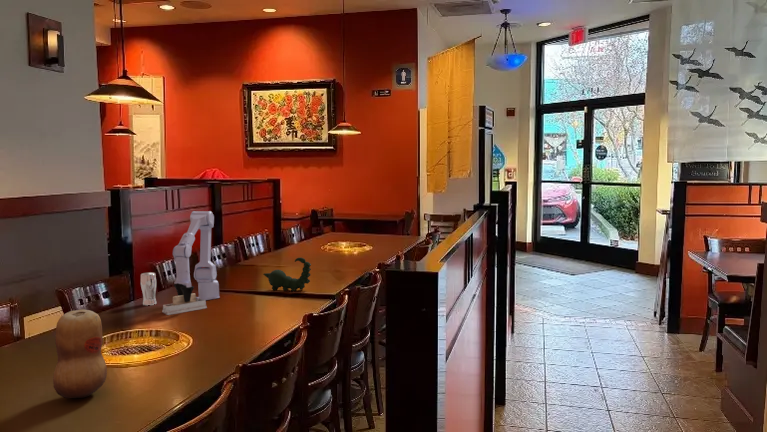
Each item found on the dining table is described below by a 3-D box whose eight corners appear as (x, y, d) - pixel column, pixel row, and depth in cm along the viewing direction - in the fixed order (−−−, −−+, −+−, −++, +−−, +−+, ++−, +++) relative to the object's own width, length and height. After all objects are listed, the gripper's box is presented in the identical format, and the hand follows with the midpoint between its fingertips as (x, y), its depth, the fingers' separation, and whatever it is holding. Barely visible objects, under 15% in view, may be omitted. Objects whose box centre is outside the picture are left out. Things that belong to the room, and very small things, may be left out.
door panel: (194, 305, 256) (194, 293, 255) (196, 306, 254) (195, 293, 254) (173, 309, 249) (172, 296, 249) (174, 310, 248) (173, 297, 248)
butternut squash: (78, 409, 149) (71, 320, 147) (43, 402, 154) (37, 316, 152) (119, 390, 162) (114, 307, 160) (86, 384, 167) (81, 304, 165)
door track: (201, 305, 260) (200, 298, 260) (206, 308, 255) (206, 300, 255) (162, 312, 249) (162, 304, 249) (167, 315, 244) (167, 307, 243)
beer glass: (160, 302, 267) (158, 272, 266) (152, 306, 260) (151, 275, 259) (146, 302, 268) (145, 272, 266) (139, 305, 261) (137, 275, 260)
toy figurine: (310, 291, 293) (265, 287, 294) (312, 256, 291) (267, 252, 293) (306, 295, 283) (259, 291, 285) (308, 260, 281) (261, 255, 283)
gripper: (168, 270, 253) (170, 298, 255) (179, 274, 242) (181, 304, 243) (184, 268, 258) (185, 296, 259) (195, 272, 247) (196, 301, 248)
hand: (184, 300), depth 252 cm, fingers open, 7 cm apart
